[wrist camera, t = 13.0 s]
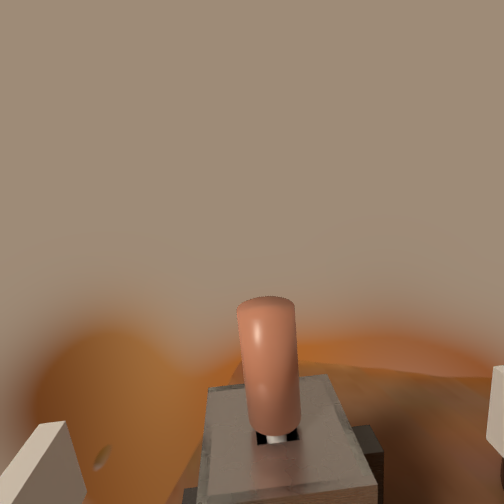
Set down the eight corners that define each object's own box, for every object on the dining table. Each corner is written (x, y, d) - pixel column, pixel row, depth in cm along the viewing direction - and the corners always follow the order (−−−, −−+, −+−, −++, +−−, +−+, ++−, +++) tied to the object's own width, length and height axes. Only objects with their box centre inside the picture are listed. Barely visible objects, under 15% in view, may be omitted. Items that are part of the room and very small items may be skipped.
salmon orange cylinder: (306, 553, 28) (289, 293, 22) (316, 607, 25) (299, 317, 19) (264, 558, 28) (236, 299, 22) (269, 613, 25) (236, 324, 19)
